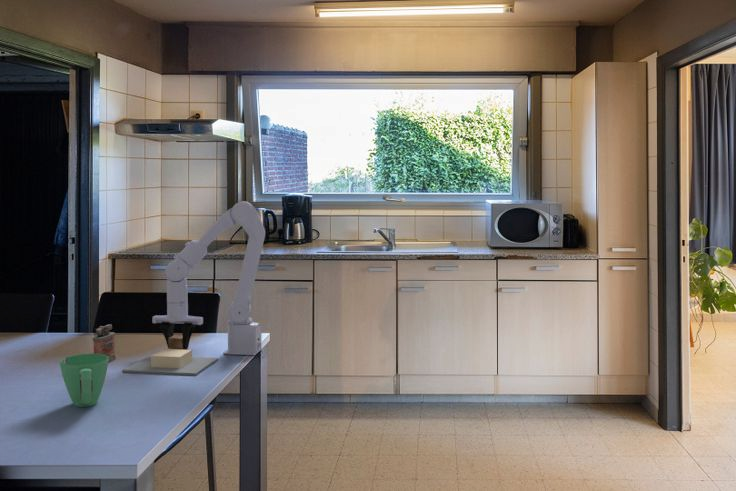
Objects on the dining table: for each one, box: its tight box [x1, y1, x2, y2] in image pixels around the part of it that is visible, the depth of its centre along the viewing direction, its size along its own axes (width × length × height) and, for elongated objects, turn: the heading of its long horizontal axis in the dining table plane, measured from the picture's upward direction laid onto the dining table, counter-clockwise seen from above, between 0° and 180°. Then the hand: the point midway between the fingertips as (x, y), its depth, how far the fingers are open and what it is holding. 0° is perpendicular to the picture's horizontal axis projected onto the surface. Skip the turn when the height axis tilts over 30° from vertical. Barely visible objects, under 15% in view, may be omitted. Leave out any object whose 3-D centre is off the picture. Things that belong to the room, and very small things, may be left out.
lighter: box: [92, 323, 116, 364], centre depth 182 cm, size 8×3×10 cm, turn 168°
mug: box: [59, 353, 109, 408], centre depth 144 cm, size 15×10×10 cm
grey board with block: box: [121, 348, 219, 377], centre depth 178 cm, size 20×16×4 cm
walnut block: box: [168, 334, 189, 350], centre depth 192 cm, size 4×4×5 cm
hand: (178, 348), depth 192 cm, fingers closed on walnut block, 4 cm apart
